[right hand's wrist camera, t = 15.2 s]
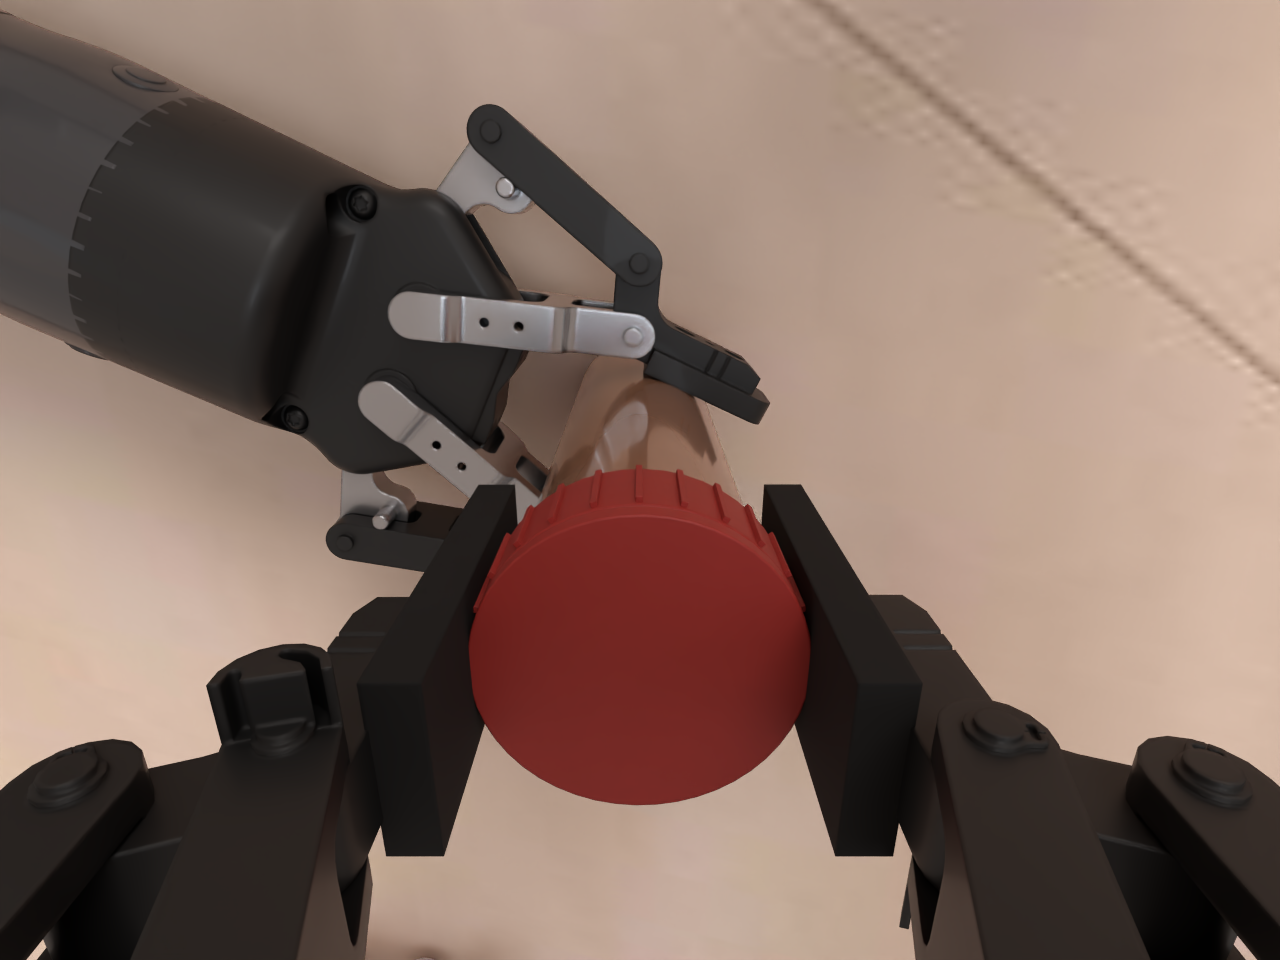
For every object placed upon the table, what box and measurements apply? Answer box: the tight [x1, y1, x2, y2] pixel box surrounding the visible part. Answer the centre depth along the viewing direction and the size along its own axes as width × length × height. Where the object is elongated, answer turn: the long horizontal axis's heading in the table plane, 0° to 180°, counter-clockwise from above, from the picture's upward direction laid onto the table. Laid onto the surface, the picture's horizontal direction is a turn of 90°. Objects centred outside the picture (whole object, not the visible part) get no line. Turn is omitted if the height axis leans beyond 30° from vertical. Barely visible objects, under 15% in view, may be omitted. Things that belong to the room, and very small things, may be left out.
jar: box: [537, 355, 743, 505], centre depth 19 cm, size 5×5×16 cm
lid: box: [468, 465, 811, 805], centre depth 11 cm, size 5×5×2 cm
